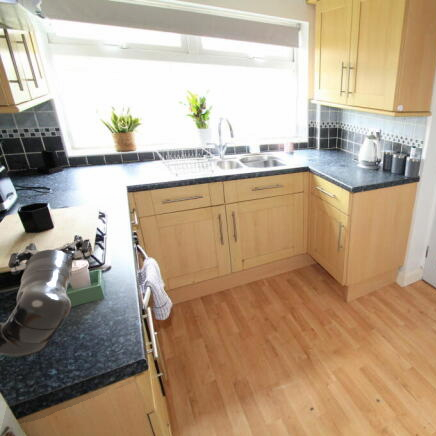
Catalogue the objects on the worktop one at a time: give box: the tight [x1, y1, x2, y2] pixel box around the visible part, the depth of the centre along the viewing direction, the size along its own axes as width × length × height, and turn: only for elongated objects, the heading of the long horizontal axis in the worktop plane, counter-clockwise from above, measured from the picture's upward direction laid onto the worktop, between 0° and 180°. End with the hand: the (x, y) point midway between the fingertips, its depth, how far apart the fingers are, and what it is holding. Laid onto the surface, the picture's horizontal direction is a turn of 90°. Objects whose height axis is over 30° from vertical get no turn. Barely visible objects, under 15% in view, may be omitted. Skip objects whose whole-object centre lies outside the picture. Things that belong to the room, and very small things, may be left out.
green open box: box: [67, 268, 106, 308], centre depth 95 cm, size 10×10×5 cm
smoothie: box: [69, 259, 91, 291], centre depth 93 cm, size 6×6×14 cm
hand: (56, 242), depth 78 cm, fingers open, 8 cm apart
